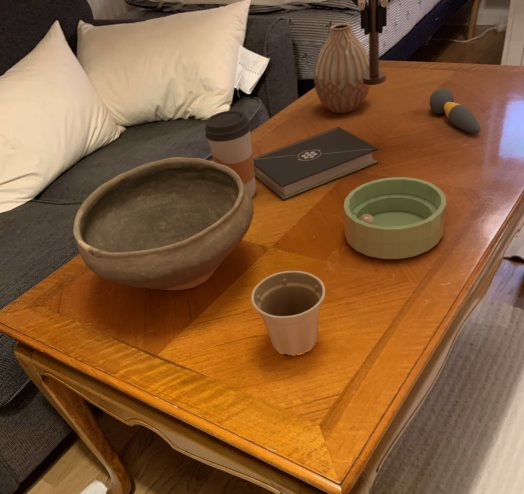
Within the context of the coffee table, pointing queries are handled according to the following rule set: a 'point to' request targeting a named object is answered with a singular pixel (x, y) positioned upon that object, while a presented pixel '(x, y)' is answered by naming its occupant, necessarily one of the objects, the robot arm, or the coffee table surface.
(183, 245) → the bowl
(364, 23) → the robot arm
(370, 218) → the bead
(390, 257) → the green round dish
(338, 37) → the vase
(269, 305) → the flower pot
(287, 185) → the book
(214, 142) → the coffee cup
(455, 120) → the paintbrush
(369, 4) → the stick
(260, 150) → the coffee table surface
